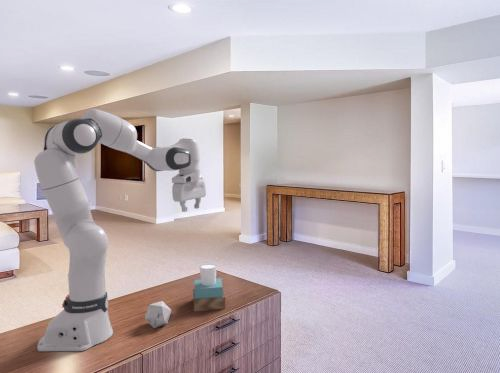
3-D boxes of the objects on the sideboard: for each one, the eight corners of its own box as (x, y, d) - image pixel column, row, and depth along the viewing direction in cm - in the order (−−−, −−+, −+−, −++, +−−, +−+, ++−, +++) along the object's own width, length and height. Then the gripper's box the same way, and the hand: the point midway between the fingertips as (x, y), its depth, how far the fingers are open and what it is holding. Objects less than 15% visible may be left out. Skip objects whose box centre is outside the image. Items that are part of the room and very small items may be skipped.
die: (140, 329, 127) (147, 313, 122) (146, 309, 134) (153, 293, 129) (163, 335, 128) (170, 319, 123) (168, 314, 136) (175, 299, 130)
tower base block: (194, 312, 139) (193, 300, 139) (193, 300, 151) (193, 289, 151) (225, 309, 142) (224, 297, 141) (222, 298, 153) (221, 286, 153)
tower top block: (194, 299, 140) (194, 289, 140) (195, 289, 151) (194, 279, 151) (222, 297, 141) (222, 287, 141) (221, 287, 152) (221, 278, 152)
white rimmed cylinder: (207, 287, 141) (206, 270, 140) (196, 283, 146) (195, 266, 145) (220, 282, 146) (220, 266, 145) (209, 279, 151) (209, 262, 150)
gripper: (196, 176, 163) (197, 206, 165) (168, 179, 145) (170, 213, 146) (208, 176, 161) (209, 206, 162) (182, 178, 142) (183, 213, 143)
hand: (190, 209), depth 154 cm, fingers open, 8 cm apart
